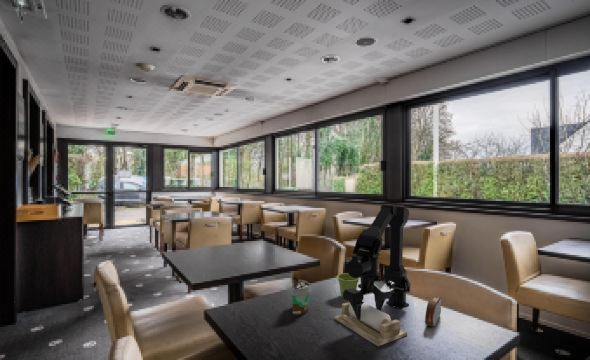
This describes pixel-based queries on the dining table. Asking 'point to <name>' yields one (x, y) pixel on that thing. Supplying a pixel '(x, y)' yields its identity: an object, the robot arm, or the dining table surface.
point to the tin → (433, 310)
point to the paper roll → (371, 316)
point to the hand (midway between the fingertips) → (368, 316)
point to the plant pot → (347, 282)
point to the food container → (301, 298)
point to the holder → (385, 335)
